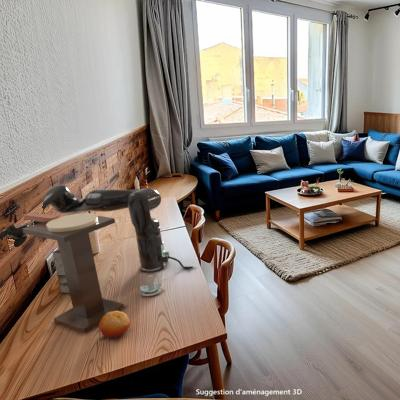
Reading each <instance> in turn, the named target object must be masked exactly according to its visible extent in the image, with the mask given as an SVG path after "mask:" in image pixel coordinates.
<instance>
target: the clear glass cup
mask: <svg viewBox="0 0 400 400" xmlns="http://www.w3.org/2000/svg"><path fill="white" fill-rule="evenodd" d="M155 281H156V279H155V276H154V275H147V276H146V277H145V283H146V284H147V285H141V286H139V289H140V291H141V296H143V297H153V296H157V295H158V294H160V293H161V292H162V290H161V289H160V288H161V287H162V286H163V284H162V282H157V283H156V284H155Z"/></svg>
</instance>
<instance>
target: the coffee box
mask: <svg viewBox="0 0 400 400" xmlns="http://www.w3.org/2000/svg"><path fill="white" fill-rule="evenodd" d="M51 253H52V257H53V261H54V262H53V263H54V266H55V270H56V275H57V280H58V284H59V287H60V292H61V293H66V294H70V293H69V289H68V284H67V280H66V276H65V272H64V268H63V263H62V259H61V255H60V251H59V248H58V249H56V250H54V251H52V252H51Z"/></svg>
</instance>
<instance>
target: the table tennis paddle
mask: <svg viewBox="0 0 400 400" xmlns="http://www.w3.org/2000/svg"><path fill="white" fill-rule="evenodd" d="M65 215H66V216H64V215H61V216H62V217H61V216H60V215H58V214H57V215H55V214H47V213H46V214H45V213H43V214H39V213H28V214H26V213H25V214H23V215H22V217H23V216H24V220H31V221H39V222H47V224H46V227H47V230H48V231H51V232H67V231H74V230H79V229H83V228H86V227H89V226H91V225H93V224H95V223H97V222H98V216H99V215H97V214H96V213H92V212H79V214H72V215H67V214H65Z"/></svg>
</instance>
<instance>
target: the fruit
mask: <svg viewBox="0 0 400 400" xmlns="http://www.w3.org/2000/svg"><path fill="white" fill-rule="evenodd" d="M130 324H131V321H130V318H129V316H128V314H127V313H125V312H124V311H121V310H120V311H112V312H108V313H106V314H105V315H104V316H103V317H102V319H101V321H100V324H98V326H99V331H100V333H101V334H102V337H101V340H102V339H104V338H107V339H119V338H121V337H122V336H124V334H125V333H126V332H127V331H128V329H129V327H130Z"/></svg>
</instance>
